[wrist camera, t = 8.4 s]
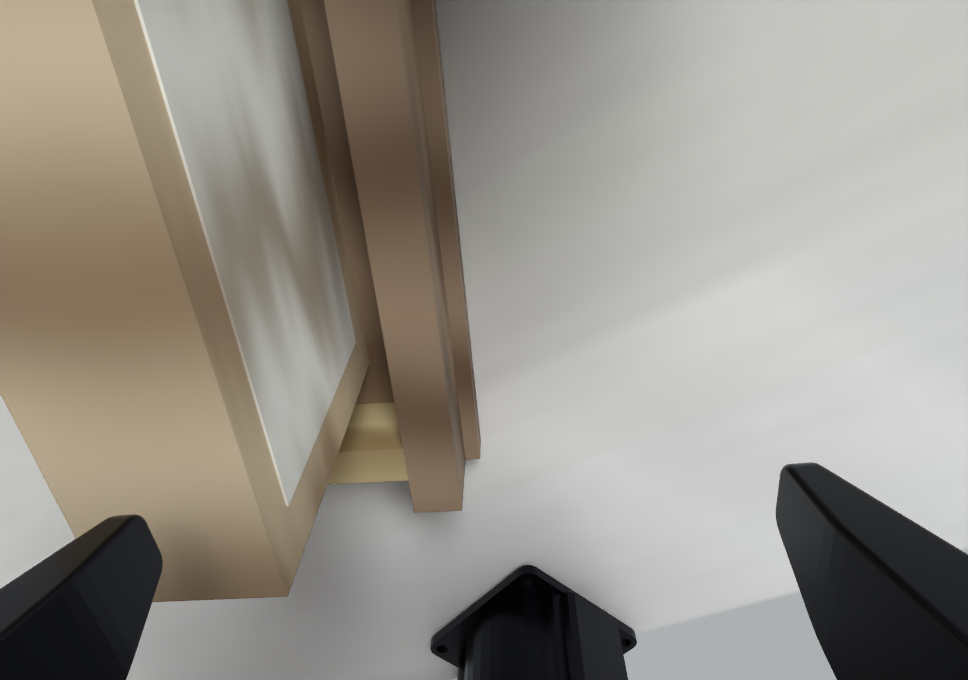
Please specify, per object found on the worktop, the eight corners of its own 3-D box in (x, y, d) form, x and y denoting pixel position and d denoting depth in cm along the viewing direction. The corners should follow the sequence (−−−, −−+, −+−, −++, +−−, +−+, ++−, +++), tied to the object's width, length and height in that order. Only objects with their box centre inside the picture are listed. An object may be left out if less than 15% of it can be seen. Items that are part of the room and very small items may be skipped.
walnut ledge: (480, 440, 23) (477, 509, 20) (209, 455, 24) (166, 524, 21) (401, -318, 14) (373, -409, 11) (-47, -265, 14) (-198, -336, 11)
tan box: (371, 362, 20) (289, 596, 13) (257, 369, 21) (107, 604, 13) (284, -87, 15) (37, -179, 7) (129, -71, 15) (-284, -142, 7)
